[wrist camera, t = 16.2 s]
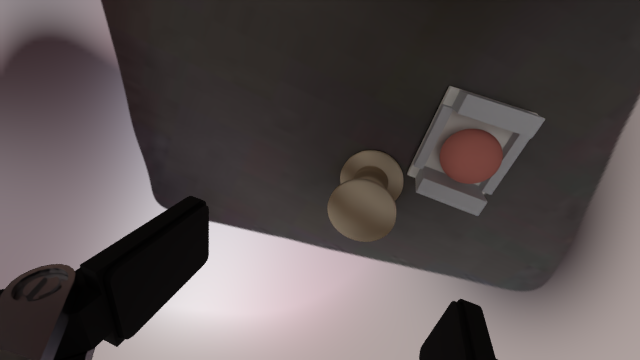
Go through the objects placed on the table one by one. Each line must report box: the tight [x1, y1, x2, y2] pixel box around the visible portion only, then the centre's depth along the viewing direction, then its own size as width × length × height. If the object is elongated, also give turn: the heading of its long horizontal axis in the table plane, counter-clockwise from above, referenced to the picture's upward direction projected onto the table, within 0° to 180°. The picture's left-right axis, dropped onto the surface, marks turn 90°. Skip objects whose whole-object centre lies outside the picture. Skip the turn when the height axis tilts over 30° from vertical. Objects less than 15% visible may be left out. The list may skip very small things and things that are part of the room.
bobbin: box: [327, 150, 403, 242], centre depth 31 cm, size 8×8×9 cm
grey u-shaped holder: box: [407, 86, 545, 216], centre depth 28 cm, size 11×9×5 cm
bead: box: [440, 129, 503, 184], centre depth 27 cm, size 6×6×6 cm
